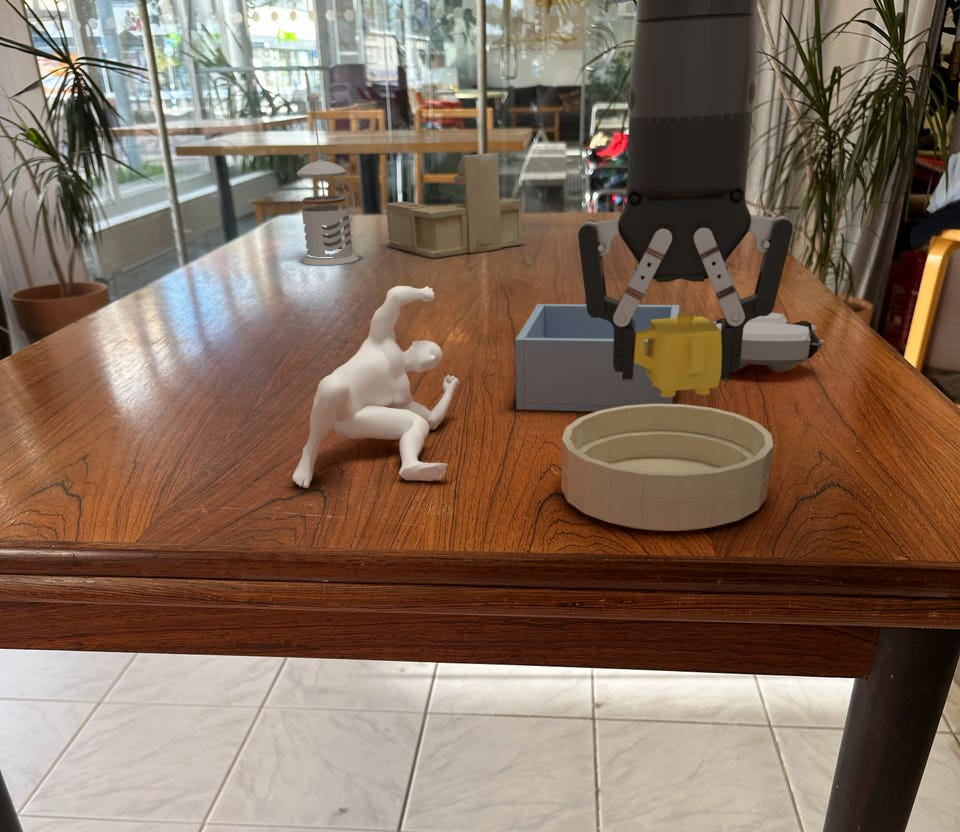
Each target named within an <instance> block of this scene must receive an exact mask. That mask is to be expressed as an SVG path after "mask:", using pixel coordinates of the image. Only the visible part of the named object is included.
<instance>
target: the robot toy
mask: <svg viewBox="0 0 960 832" xmlns="http://www.w3.org/2000/svg"><path fill="white" fill-rule="evenodd" d="M722 320H725V317H721V318H718V319H716V320H715V321H713V322H712V323H714V324H715V325H716V326H717V327H718V328H719V329H720V331H721V325H722ZM788 322H789V320H788V319H787V317H786V316H785V315H784V314H783V313H778V312H771V313H770V314H769V315H767V316H759V317H756V318H754V319H751V320H749V321H748V322H747V323H746V324H745V326H744V329H743V338H742V349H741V359H740V366H739V368H738V370H741V369H743V368H745V367H746V366H748V365H764V366H765V367H767V368H768V369H769V370H770V371H773V372H777V373H783V372H788V371H790V370H792V369H794V368H795V367H796V366H797V365H798V364H805V362H806V360H807V359H812V358H813V356H815V354H816V353H818V352H819V349H822V348H823V345H824V341H825V340H824V339H819V337H818V336H817V334H816V333H815V332H816V330H817V325H813V324H812V323H811V322H810V321H808V320H800V321H796V322H793V323H788Z"/></svg>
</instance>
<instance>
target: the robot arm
mask: <svg viewBox="0 0 960 832" xmlns="http://www.w3.org/2000/svg"><path fill="white" fill-rule="evenodd" d="M758 7H759V0H636V12H635V13H636V15H635V22H637V23H636V24H635V31H634V32H635V34H634V41H633V49H632V55H631V63H630V73H629V74H630V76H629V81H630V82H629V89H628V94H627V106H628V114H629V115H628V138H627V139H628V140H627V141H628V143H627V170H626V171H627V174H626V176H627V177H626V200H625V204H624V208H623V210H622V212H621V213H620V216H619V217H618V218H613V219H607V220H601V221H596V220H594V219H588V220H586V221H584V222H583V224H582V225H581V226H580V227H579V230H578V232H577V239H578V246H579V255H580V263H581V272H582V279H583V288H584V294H585V304H586V305H587V312H588V314H589V315H590V316H591V317H593V318H602V319H605V320H607V321H609V322H610V323H611V324H612V325H613V328H614V349H613V366H614V369H615V371H616V372H623V373H622V380H632V379H633V371H634V361H633V347H634V333H635V321H633V315H634V313H635V311H636V309H637V307H638V305H640V302H641V301H642V299H643V298H644V296H645V294H646V292H647V290H648V288H649V286H650V284H651V283H652V281H653V280H654V281H656V283H669V282H672V281H676V280H677V281H678V280H684V281H689V282H692V283H695V282H700V283H701V282H705V280H708V279H709V282H710V284H711V287H712V289H713V292H714V294H715V297H716V298H717V300H718V303H719V305H720V308H721V310H722V312H723V315H724V318H725V320H722V325H721V340H722V365H721V377H720V381H729V378H730V373H736V372H737V371H738V370H739V369H738V368H739V366H740V359H741V349H742V338H743V329H744V326H745V324H746V323H747V322H748V321H749V320H751V319H754V318H756V317H759V316H767V315H769V314H770V313H773V311H774V309H775V304H776V301H777V296H778V292H779V288H780V284H781V280H782V276H783V271H784V268H785V264H786V260H787V255H788V253H789V248H790V243H791V239H792V235H793V230H794V227H793V224H792V222H791V220H790V219H789V217H788V216H787V215H786V214H783V213H782V214H777V215H775V216H773V217H772V216H765V215H764V216H763V215H757V214H751V213H750V209H749V208H748V206H747V201H746V200H747V199H746V192H747V191H746V189H747V178H748V169H749V155H750V145H751V135H752V134H751V133H752V123H753V113H754V103H755V100H756V96H757V83H756V79H757V67H758V43H757V41H758V40H757V19H758V18H757V16H756V15H757V14H758ZM748 233H750V234H752V235H754V245H755V247H756V248H755V249H756V250H757V251H758V252H759V253H762V259H761V263H760V267H759V271H758V276H757V280H756V284H755V287H754V288H755V289H754V294H751V295H748V296H746V297H743V298H741V297H740V295H739V292H738V290H737V287H736V284H735V281H734V279H733V276H732V273H731V271H730V268H729V266H728V264H727V263H728V262H727V260H728V259H729V257H730V256H731V255H732V254H733V252H734V251H735V250H736V248H737V247H738V246H739V245H740V243H741V242H742V241H743V239H744V238H745V237H746V235H747V234H748ZM617 236H620V237H621V239H622V241H623V242H624V244H625V245H626V247H627V249H628V250H629V251H630V253H631V254H632V256H633V258H634V259H635V260H636V262H637V263H636V265H635V267H634V269H633V271H632V273H631V275H630V277H629V279H628V282H627V284H626V285H625V288H624V289H623V292H622V295H621V296H620V298H619V299H616V298H613V297H611V296H609V295H608V293H607V285H606V277H605V268H604V258H603V257H605V256H607V255H608V254H609V253H610V251H611V249H612V247H613V241H614V239H615V238H616V237H617Z"/></svg>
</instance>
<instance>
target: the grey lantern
mask: <svg viewBox="0 0 960 832" xmlns="http://www.w3.org/2000/svg"><path fill="white" fill-rule="evenodd" d="M306 99H307V100H306V102H312V108H313V119H314V126H315V136H316V143H317V144H316V145H317V152H318V159H317V160H316V161H313V162H309V163H307V164H306V165H304V166H303V167H302V168H300V169H299V170H297V172H296V176H297V177H299V178H320V181H321V189H322V195H315V196H314V195H311V196H306V197H304V198H303V199H302V202H303V203H304V204H307V205H316V206H308V207H304V208H302V209H301V217H302V223H303V225H304V228H303V231H304V234H305V236H304V240H305V242H306V244H305V248H306V256H305V257H304V259H302V261H301V262H302V263H303V262H304V263H303V264H305V265H311V266H334V265H345V264H350V263H353V262H354V263H355V262H357V261H358V260H359V259H360V257H359V256H358V255H357V254H356V253H354V252H353V244H352V243H353V242H352V233H351V232H352V231H351V222H352V221H353V219H354V215H355V207H356V202H355V195H354V191H353V188H352V185H351V184H350V182H349V181H348V179H347V180H346V179H345V178H344V177H343V178H341V179H338V178H337V176H338V177H339V176H343V175H345V174H346V171H347V170H346V169H345V168H343V167H342V166H340V164H337V163H335V162H331V161H326V160H323V159H321V151H320V143H319V142H320V141H319V135H318V134H319V133H318V126H317V125H318V124H317V117H316V108H315V102H319V101H320V97H319V95H318V94H317V93H316V92H309V94H308V95H307V96H306ZM330 177H333V179H332V181H333V187H334V188H336V189H341V188H342V190H343V193H344V195H339V194H333V195H332V194H331V195H326V194H325V189H324V179H323V178H330ZM336 181H337V182H339V184H340V186H338V185H336ZM343 182H346V184H347V185H348V187H349V189H350V192H351V196H352V213H351V217H350V212H349V206H348V205H349V204H348V196H347V191H346V189H345V186H344V185H343ZM344 201H345V205H341V209H339V205H335V204H338V203H343V202H344ZM331 204H332V205H331ZM342 229H343V230H342ZM343 237H344V239H342V238H343ZM344 245H345V247H343V246H344ZM336 249H342V250H341V251H340V252H338V253H335V254H332V255H330V254H325V250H327V251H333V250H336ZM351 253H352V254H351ZM307 254H308V255H310V256H316V257H333V258H314V257H309V256H307ZM340 256H341V257H340Z"/></svg>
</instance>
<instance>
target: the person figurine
mask: <svg viewBox="0 0 960 832" xmlns="http://www.w3.org/2000/svg"><path fill="white" fill-rule="evenodd" d="M433 290H434V288H432V287H431V288H430V287H429V286H428V285H427V286H425V287H423V288H415V287H412V286H409V285H396V286H394V287H392V288H390V289H389V290H388V291H387V293H386V296H385V301H384V302H383V304H382V305H381V306H380V307H378V308H377V309H376V310H375V311H374V313H373V316H372V319H371V320H370V323H369V328H370V329H369V332H368V336H367V338H366V339H365V340H364V341H363V342H362V344H361V345H360V348H359V349H358V350H357V352H356V353H355V354H354V355H353V356H352V357H351V358H350V359H349V360H348V361H347V362H345V363H343V364H342V365H340V366H339V367H337V368H336V369H334V370H333V371H332V372H331V374H328V375H326V376H325V377H324V378H322V379H320V381H319V383H318V385H317V389H316V393H315V395H314V398H313V404H312V406H313V407H312V410H311V413H310V416H309V436H308V439H307V442H306V444H305V445H304V446H303V448H302V455H301V458H300V460H299V463H298V465H297V466H296V469H295V470H294V472H293V474H292V481H293V482H294V483H295V484H296V485H298V486H299V488H301V487H302V488H304V489H308V488H310V484H311V481H312V480H313V474H314V467H315V463H316V460H317V457H318V456H319V447H320V445H321V443H322V442H323V440H324V439H325V437H326V436H327V435H328V433H329V432H330V431H331V430H333V431H334V432H335V433H336V435H338V436H340V437H341V438H345V439H349V440H361V439H362V440H363V439H377V440H387V441H388V440H389V441H396V440H399V443H398V445H399V454H400V455H399V456H400V459H401V467H400V469H399V471H398V474H399V476H400V477H401V478H402V479H404V480H405V481H423V482H426V481H427V482H433V481H439V480H440V481H441V480H442V478H444V476H446V474H447V473H446V472H447V469H448V463H444V462H422V461H420V460H419V455H420V453H421V452H422V450H423V448H424V444H425V439H426V438H427V437H428V436H429V432H430V430H431V431H433V430H436V429H437V428H438V426H439V425H440V424H441V423H442V421H444V419H445V417H446V414H447V411H448V409H449V405H450V403H451V400H452V397H453V395H454V393H455V391H456V388H457V387H458V385H459V383H460V381H459V378H457V377H455V376H454V375H451V376H450V374H447V375H446V376H444V378H443V383H442V388H443V392H444V393H443V395H442V397H441V398H440V400H439V401H438V403H437V404H436V405H435V406H434V407H433V408H432V409H431V410H429V409H428V408H427V407H426V406H425V405H423V404H421V403H419V402H416V401H414V398H413V395H412V393H411V383H410V380H409V377H408V373H411V372H415V373H417V374H420V373H422V372H423V373H424V372H428V371H430V370H432V369H434V368H436V367H437V366H438V365H440V364H441V363H442V359H443V352H442V349H441V347H440V346H439V345H438V344H437V343H436V342H434V341H431V340H425V339H423V340H417V339H416V340H414V341H412V343H411V345H410V346H409V347H408V349H407V350H405V351H402V348H400V346H399V345H398V343H397V342H396V333H395V329H394V327H395V325H396V323H397V321H398V320H399V318H400V317H401V307H403V306H405V305H407V304H410V303H413V302H417V301H423V302H425V303H427V302H428V303H430V302H432V301H433V300H434V299H436V297H435V292H434V291H433Z"/></svg>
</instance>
